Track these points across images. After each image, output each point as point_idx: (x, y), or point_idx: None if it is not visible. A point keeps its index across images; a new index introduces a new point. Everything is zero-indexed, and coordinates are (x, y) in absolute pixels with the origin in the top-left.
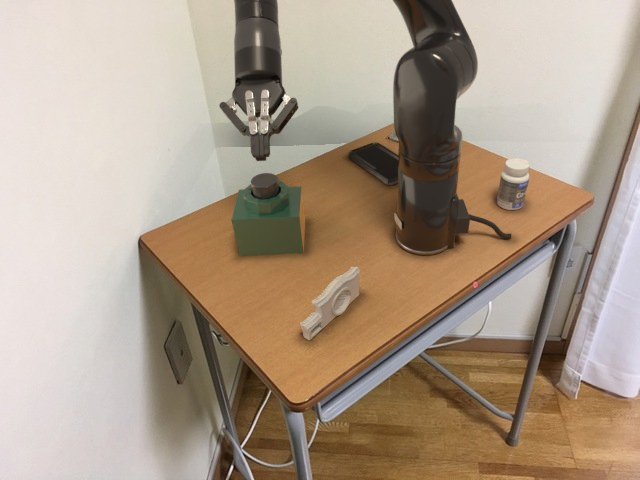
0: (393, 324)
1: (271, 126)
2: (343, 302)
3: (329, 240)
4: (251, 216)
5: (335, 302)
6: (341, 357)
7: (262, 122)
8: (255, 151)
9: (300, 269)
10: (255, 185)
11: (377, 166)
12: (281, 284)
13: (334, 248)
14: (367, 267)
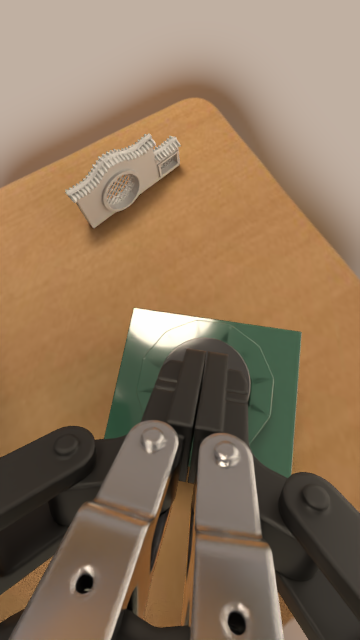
0: (62, 170)
1: (96, 470)
2: (113, 204)
3: (97, 362)
4: (249, 334)
5: (123, 183)
6: (139, 135)
7: (148, 491)
8: (224, 368)
9: (164, 294)
10: (234, 354)
11: None
12: (200, 265)
13: (94, 336)
14: (56, 276)
